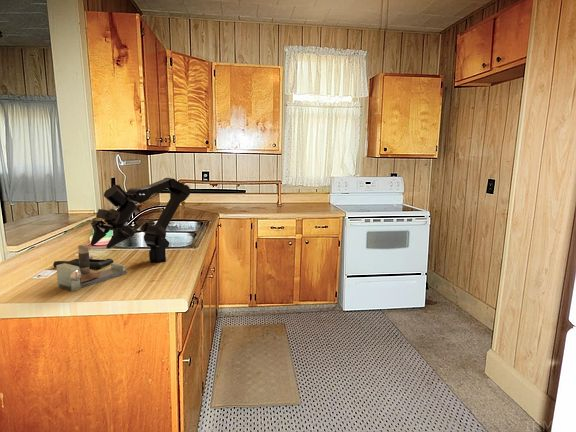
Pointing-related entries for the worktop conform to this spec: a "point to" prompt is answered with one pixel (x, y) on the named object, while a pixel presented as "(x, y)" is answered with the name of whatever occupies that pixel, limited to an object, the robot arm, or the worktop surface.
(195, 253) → the worktop surface
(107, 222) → the robot arm
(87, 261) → the carriage
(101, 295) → the worktop surface
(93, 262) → the door handle
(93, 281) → the rail
